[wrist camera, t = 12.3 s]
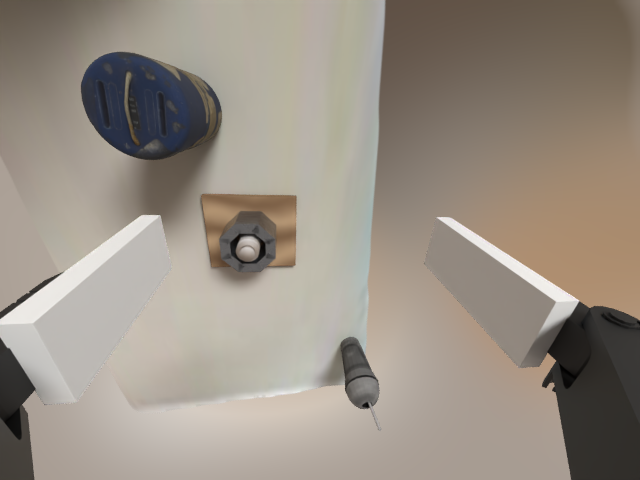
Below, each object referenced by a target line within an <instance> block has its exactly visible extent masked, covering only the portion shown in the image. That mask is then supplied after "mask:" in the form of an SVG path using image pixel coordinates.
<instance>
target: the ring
mask: <svg viewBox="0 0 640 480" xmlns="http://www.w3.org/2000/svg"><path fill="white" fill-rule="evenodd" d="M239 234H256V235H257V236H258V237H259V238H260V239H262V240H263V241H264V243H263V244H262V245H261V246H260V250H259V255H258V257H257V258H256V259H255V260H253V261H250V262H246V261H243V260H241V259H240V258H238V256H237V254H236V248H237V245H238V242H239V241H238V240H237V236H238V235H239ZM219 243H220V251H221V259H222V260H223V261H225V262H226V263H227V264H229V265H230V266H231V267H233V268H234V269H235V270H237V271H238V272H261V271H262V270H263V269H264V268H265V267H267V266H268V265H269V264H270V263H271V262H272V261H273V260H274V259H276V244H277V239H276V224H275V223H274V222H273V221H272V220H270V219H269V218H268V217H267V216H266V215H265V214H264V213H263V212H262V211H240V212H239V213H238V214H237V215H236V216H235V217H234V218H233V219H231V220H230V221H229V222H228V223H227V224H226V226H225V228H224V230H223V232H222V234H221V236H220V238H219Z"/></svg>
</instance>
